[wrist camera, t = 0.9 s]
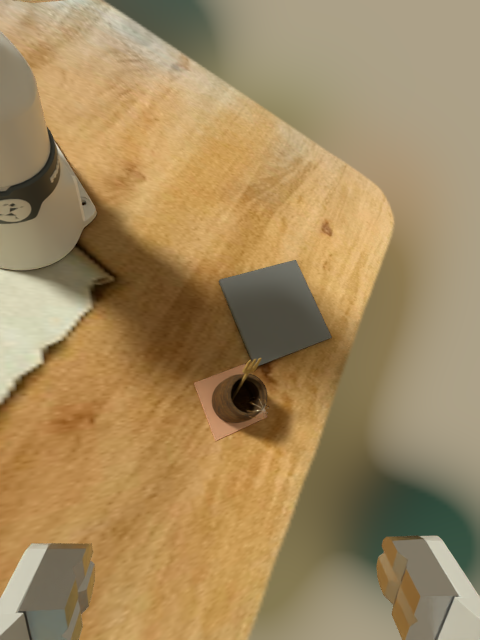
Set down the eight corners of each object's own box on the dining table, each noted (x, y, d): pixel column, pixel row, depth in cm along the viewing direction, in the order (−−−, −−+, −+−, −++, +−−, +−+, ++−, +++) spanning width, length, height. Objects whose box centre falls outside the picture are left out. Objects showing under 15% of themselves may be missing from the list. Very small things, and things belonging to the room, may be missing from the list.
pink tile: (193, 383, 48) (193, 382, 47) (245, 363, 51) (245, 363, 51) (215, 441, 46) (215, 441, 46) (267, 417, 49) (267, 417, 49)
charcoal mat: (218, 281, 54) (219, 279, 53) (294, 261, 59) (295, 259, 59) (254, 367, 51) (255, 366, 50) (329, 338, 56) (331, 337, 56)
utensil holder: (215, 429, 46) (244, 424, 36) (205, 381, 48) (229, 363, 37) (256, 418, 49) (295, 410, 38) (245, 373, 50) (279, 353, 39)
